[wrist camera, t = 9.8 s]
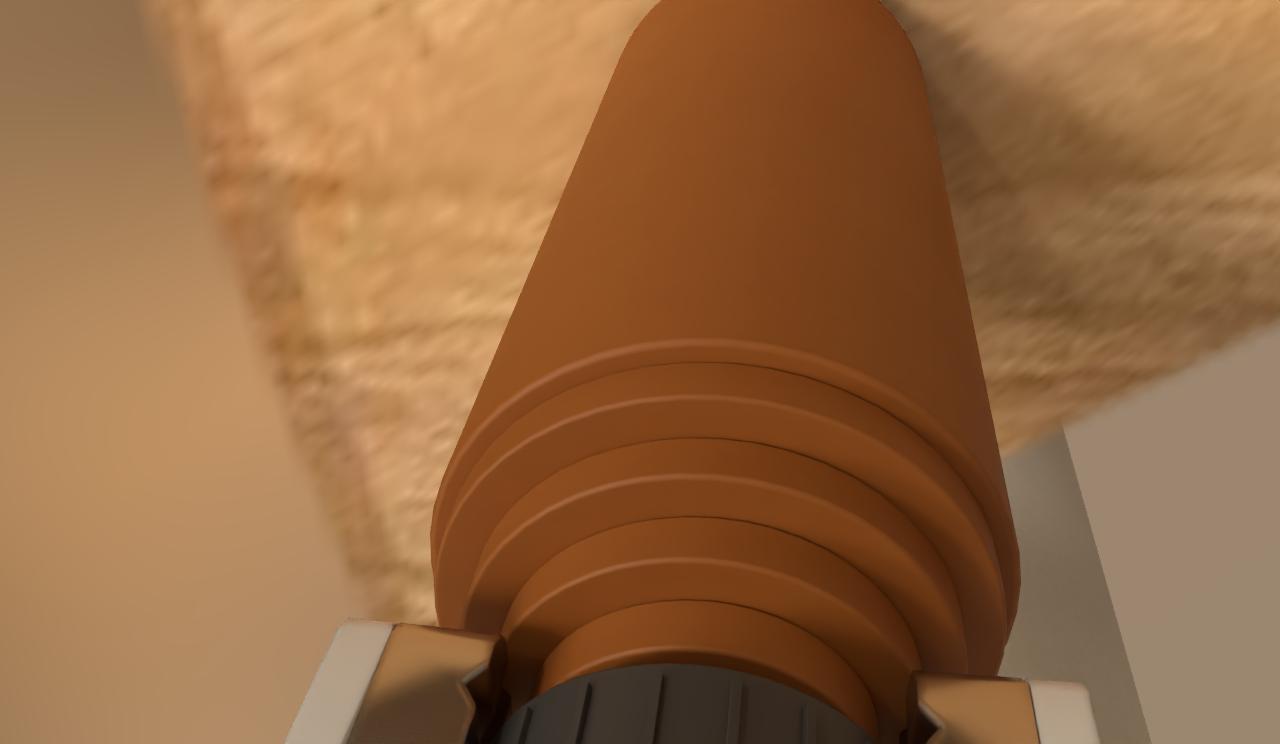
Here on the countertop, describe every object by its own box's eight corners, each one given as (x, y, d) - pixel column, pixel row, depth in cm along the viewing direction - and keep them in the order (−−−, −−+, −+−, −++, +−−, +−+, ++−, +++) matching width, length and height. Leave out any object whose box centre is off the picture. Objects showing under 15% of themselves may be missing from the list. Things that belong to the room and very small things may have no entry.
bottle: (907, 267, 26) (1036, 1312, 10) (612, 251, 27) (313, 1210, 11) (946, -37, 23) (1229, 836, 7) (607, -47, 24) (163, 730, 8)
